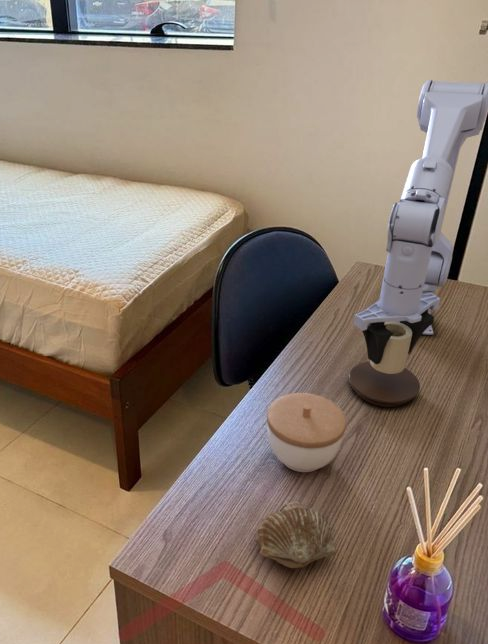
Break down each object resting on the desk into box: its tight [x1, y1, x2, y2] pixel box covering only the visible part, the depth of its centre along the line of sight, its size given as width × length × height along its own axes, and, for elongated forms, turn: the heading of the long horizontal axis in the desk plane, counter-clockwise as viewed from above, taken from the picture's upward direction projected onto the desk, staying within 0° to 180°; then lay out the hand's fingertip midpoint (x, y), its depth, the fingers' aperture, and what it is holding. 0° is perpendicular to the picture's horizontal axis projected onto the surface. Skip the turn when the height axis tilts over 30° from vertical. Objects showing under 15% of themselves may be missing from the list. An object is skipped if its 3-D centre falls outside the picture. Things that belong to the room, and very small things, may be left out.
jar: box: [369, 322, 412, 374], centre depth 95 cm, size 5×5×6 cm
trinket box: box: [266, 392, 347, 473], centre depth 84 cm, size 11×11×9 cm
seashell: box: [253, 501, 338, 569], centre depth 71 cm, size 9×7×8 cm
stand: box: [348, 360, 421, 408], centre depth 99 cm, size 11×11×2 cm
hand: (388, 356), depth 95 cm, fingers closed on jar, 5 cm apart
